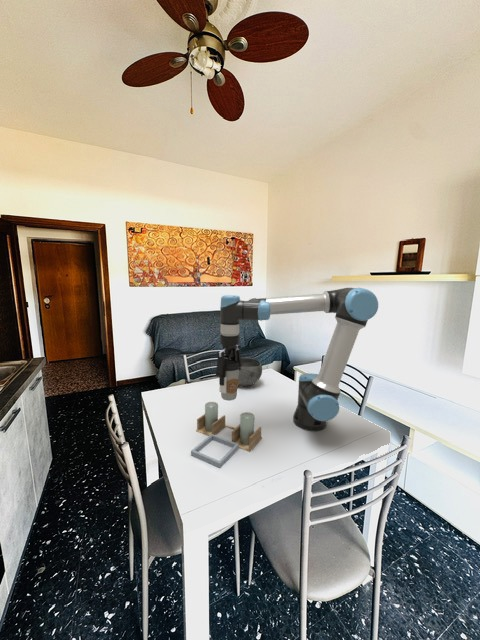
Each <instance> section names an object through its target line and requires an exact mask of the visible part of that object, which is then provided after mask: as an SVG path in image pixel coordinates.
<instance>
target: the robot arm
mask: <svg viewBox="0 0 480 640" xmlns="http://www.w3.org/2000/svg"><path fill="white" fill-rule="evenodd" d="M378 309H379V301H378V298H377V296H376V295H375V294H374V292H372V291H371V290H369V289H367V288H362V287H344V288H339V289H333V290H332V289H331V290H325V291H323V293H317V294H316V293H315V294H314V293H313V294H300V295H289V296H276V297H273V296H272V297H265V298H264V297H263V298H261V297H259V298H255V297H254V298H250V299H248V300H241V298H240V296H239V295H237V294H236V295H231V294H230V295H229V294H225V295H222V296H221V297H220V311H219V313H220V314H219V315H220V317H219V318H220V340H219V341H220V342H219V343H220V344H221V345H222V348H221V350H220V351H219V350H218V351H217V362H216V370H215V371H216V372H215V377H217V378H218V379H219V393H221V392H222V393H226V377H225V375H226V371H227V365H228V363H229V361H230V360H233V361H238V364H239V367H241V366H242V365H241V358H242V355H241V354H242V353H241V349H242V347H241V345H239V343H240V335H239V334H240V320H241V321H243V320H244V321H245V320H247V321H269V320H270V318H271V316H272V315H283V314H284V315H285V314H296V313H297V314H299V313H300V314H301V313H313V312H314V313H315V312H323V313H326V314H335V316H334V319H335V321H336V325H335V327H334V331H333V333H332V335H331V339H330V342H329V344H328V348H327V350H326V353H325V356H324V358H323V361H322V364H321V366H320V369H319V372H318V373H308V372H307V373H302V374H300V375H299V377H298V378H299V379H298V395H297V405H296V407H295V410H294V413H293V416H292V417H293V418H292V421H293V423H294V425H296V426H297V428H298V427H299V428H300V429H302V430H307V431H311V432H312V431H313V432H314V431H315V432H316V431H317V432H318V431H321V430H324V429H325V428H326V427H327V422H328V421H331V420H333V419H334V418H336V417H337V415H338V414H339V412H340V404H339V403H340V402H338V399H339V398H340V394H341V389H340V383H341V380H342V377H343V375H344V373H345V370H346V367H347V364H348V361H349V359H350V356H351V354H352V352H353V348H354V345H355V343H356V340H357V337H358V336H359V335H358V334H359V332H360V331H361V329H364V328H366V326H367V324H368V320H370V319H372V318H373V317H374V316H376V314H377V312H378ZM239 370H241V368H239Z"/></svg>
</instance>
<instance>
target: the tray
mask: <svg viewBox="0 0 480 640" xmlns="http://www.w3.org/2000/svg"><path fill="white" fill-rule="evenodd" d="M212 441H215V442H217V443H219V444H222V445H224V446H227V447H230V448H231V449H230V450H229V451H228V452H227V453H225V454H224V455H223V456H222V458H221V459H219V460H218V459H216V458H213V457H211V456H209V455H208V454H207V455H206V454H204V453H202V452H200V451H201V450H202V449H203V448H205V447H206V446H207V445H208V444H209V443H211V442H212ZM239 449H240V448H239V444H237V443H235V442H232V440H229V439H227V438H225V437H220V436H219V435H217V434H216V435H214V434H211V435H210V436H206V438H205V439H204V440H202V442H200V443H198V444H197V446H195V447H194V448H193V449H191V450H190V456H192V457H194V458H196V459H198V460H200V461H202V462H205V463H208V464H210V465H212V466H213V467H214V466H215V467H216V468H219V469H221V468H222V466H224V465H225V464H226V462H228V461H229V460H230V458H231V457H232V456H233V455H234V454H235V453H236V452H237V451H238V450H239Z"/></svg>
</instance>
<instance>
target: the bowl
mask: <svg viewBox="0 0 480 640" xmlns="http://www.w3.org/2000/svg"><path fill="white" fill-rule="evenodd" d="M241 365H242V366H241V367H240V368H241V370H239V376H238V386H242V387H243V386H244V387H248V386H252V385H254V384H256V383H257V382H258V381H259V380H260V378H261V377H262V373H263V365H262V363H261V361H260V360H258V359H257V358H254V357H253V358H252V357H241Z"/></svg>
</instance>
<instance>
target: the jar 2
mask: <svg viewBox="0 0 480 640" xmlns="http://www.w3.org/2000/svg"><path fill="white" fill-rule="evenodd" d="M239 416H240V417H239V418H240V419H239V420H240V422H239V425H240V443H241V444H243V445H249V437H250V436H251V435H252V434H253V433H254V432H255V414H254V413H252V412H248V411H246V412H242V413H241V414H240V415H239Z"/></svg>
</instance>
